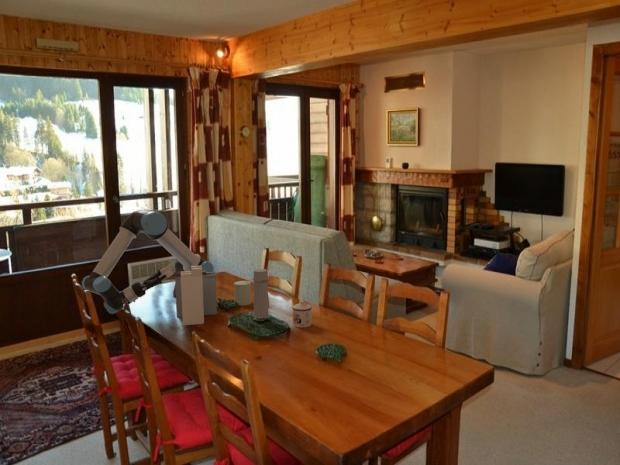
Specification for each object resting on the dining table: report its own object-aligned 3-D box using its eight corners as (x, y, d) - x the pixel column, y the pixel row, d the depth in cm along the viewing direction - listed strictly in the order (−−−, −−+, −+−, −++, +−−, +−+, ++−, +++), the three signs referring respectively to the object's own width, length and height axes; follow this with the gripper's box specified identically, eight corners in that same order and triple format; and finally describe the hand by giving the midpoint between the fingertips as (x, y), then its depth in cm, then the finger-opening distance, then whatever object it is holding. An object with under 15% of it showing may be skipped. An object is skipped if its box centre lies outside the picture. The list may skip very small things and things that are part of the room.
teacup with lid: (288, 324, 257) (288, 300, 255) (304, 320, 262) (304, 297, 260) (303, 330, 247) (303, 306, 245) (319, 327, 252) (319, 303, 251)
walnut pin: (161, 278, 270) (161, 272, 269) (206, 276, 275) (205, 270, 274) (161, 280, 267) (161, 274, 266) (206, 277, 272) (206, 271, 271)
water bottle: (262, 323, 258) (261, 272, 254) (250, 320, 263) (249, 270, 259) (274, 318, 265) (273, 269, 262) (262, 316, 270) (261, 267, 266)
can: (250, 305, 289) (249, 283, 287) (233, 305, 289) (232, 283, 287) (252, 300, 298) (251, 279, 296) (235, 300, 298) (235, 279, 296)
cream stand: (182, 319, 266) (180, 266, 262) (203, 317, 268) (201, 265, 264) (182, 325, 256) (180, 270, 252) (204, 323, 259) (202, 269, 255)
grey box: (176, 313, 276) (175, 274, 273) (216, 310, 280) (214, 272, 277) (176, 317, 269) (174, 277, 266) (217, 314, 274) (215, 274, 271)
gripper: (141, 291, 279) (176, 269, 282) (137, 304, 255) (176, 280, 258) (132, 279, 277) (168, 257, 280) (128, 291, 253) (167, 267, 256)
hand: (172, 268), depth 269 cm, fingers open, 13 cm apart
